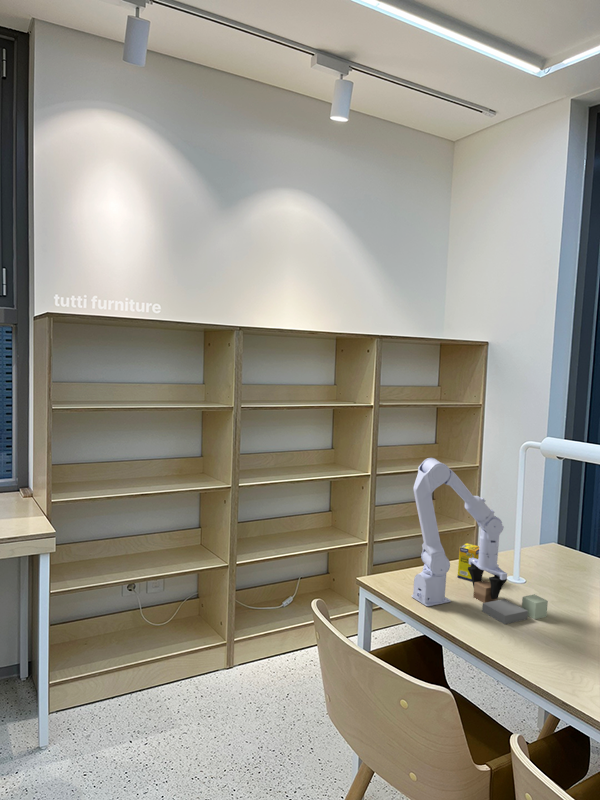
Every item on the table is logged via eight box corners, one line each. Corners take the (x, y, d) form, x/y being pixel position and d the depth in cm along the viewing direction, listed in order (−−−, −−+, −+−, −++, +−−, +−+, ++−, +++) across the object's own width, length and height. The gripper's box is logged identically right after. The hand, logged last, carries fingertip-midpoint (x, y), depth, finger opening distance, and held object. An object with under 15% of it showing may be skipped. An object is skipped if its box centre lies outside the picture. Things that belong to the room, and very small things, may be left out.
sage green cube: (534, 619, 175) (535, 603, 175) (521, 612, 180) (522, 596, 179) (546, 616, 177) (547, 600, 177) (533, 610, 182) (534, 594, 181)
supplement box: (473, 582, 202) (476, 551, 201) (456, 577, 205) (459, 546, 204) (480, 577, 207) (482, 546, 206) (463, 572, 210) (465, 542, 209)
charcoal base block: (504, 625, 171) (505, 615, 171) (481, 612, 179) (482, 603, 179) (526, 620, 175) (527, 610, 175) (503, 608, 183) (504, 598, 183)
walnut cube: (484, 603, 185) (485, 588, 184) (473, 597, 189) (474, 582, 189) (496, 601, 187) (497, 586, 187) (485, 595, 192) (486, 580, 191)
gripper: (515, 558, 182) (512, 600, 183) (481, 543, 195) (478, 583, 196) (498, 560, 179) (495, 604, 180) (464, 545, 192) (462, 586, 193)
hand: (485, 593), depth 188 cm, fingers open, 7 cm apart
